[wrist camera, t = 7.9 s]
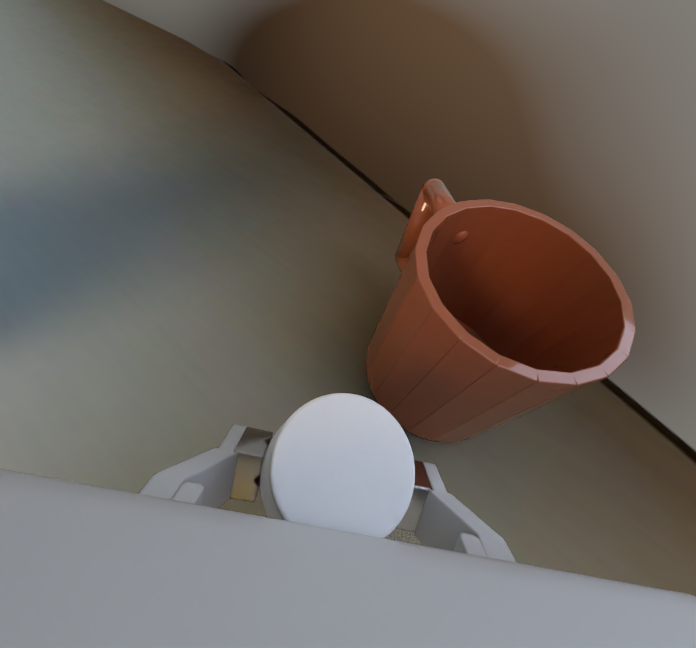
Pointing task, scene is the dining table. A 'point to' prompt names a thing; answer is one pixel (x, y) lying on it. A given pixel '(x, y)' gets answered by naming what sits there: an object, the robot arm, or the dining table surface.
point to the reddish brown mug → (492, 317)
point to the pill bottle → (339, 467)
